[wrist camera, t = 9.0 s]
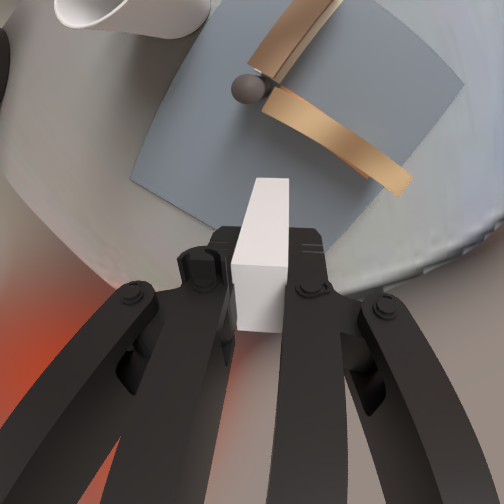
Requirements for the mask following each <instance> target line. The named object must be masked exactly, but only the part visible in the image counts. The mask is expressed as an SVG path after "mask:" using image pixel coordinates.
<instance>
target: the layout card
mask: <svg viewBox="0 0 504 504" xmlns="http://www.w3.org/2000/svg"><path fill="white" fill-rule="evenodd" d="M292 1H293V0H223V1H222V2H221V3H220V5H219V6H218V7H217V9H216V10H215V12H214V13H213V15H212V16H211V18H210V19H209V21H208V22H207V24H206V25H205V27H204V28H203V30H202V31H201V33H200V34H199V36H198V37H197V39H196V41H195V42H194V44H193V46H192V47H191V49H190V51H189V52H188V54H187V56H186V57H185V59H184V61H183V63H182V64H181V66H180V68H179V70H178V72H177V73H176V75H175V77H174V79H173V81H172V83H171V85H170V87H169V89H168V91H167V93H166V95H165V97H164V99H163V101H162V103H161V105H160V107H159V109H158V111H157V113H156V115H155V117H154V120H153V122H152V124H151V126H150V129H149V131H148V133H147V135H146V138H145V140H144V142H143V145H142V147H141V150H140V152H139V155H138V157H137V160H136V162H135V165H134V168H133V170H132V173H131V176H130V178H129V179H130V180H132V181H134V182H136V183H137V184H139V185H141V186H142V187H144V188H146V189H148V190H149V191H151V192H153V193H154V194H156V195H158V196H160V197H161V198H163V199H165V200H166V201H168V202H170V203H171V204H173V205H175V206H177V207H178V208H180V209H182V210H183V211H185V212H187V213H189V214H190V215H192V216H194V217H195V218H197V219H199V220H201V221H202V222H204V223H206V224H207V225H209V226H211V227H212V228H214V229H216V230H217V229H219V228H220V227H221V226H242V224H243V221H244V217H245V214H246V211H247V207H248V204H249V201H250V197H251V194H252V191H253V188H254V184H255V181H256V178H289V227H297V228H315V229H316V230H317V231H318V233H319V234H320V235H321V237H322V243H323V249H324V253H325V252H326V251H327V250H328V249H329V248H330V247H331V246H332V245H333V244H334V242H335V241H336V240H337V239H338V238H339V237H340V236H341V235H342V234H343V233H344V232H345V230H346V229H347V228H348V227H349V226H350V225H351V224H352V223H353V222H354V221H355V219H356V218H357V217H358V216H359V215H360V214H361V213H362V212H363V210H364V209H365V208H366V207H367V206H368V205H369V204H370V203H371V201H372V200H373V199H374V198H375V197H376V196H377V194H378V193H379V192H380V191H381V190H382V189H383V188H384V186H383V185H382V184H380V183H379V182H377V181H376V180H375V179H373V178H372V177H370V176H369V175H368V174H366V173H365V172H363V171H362V170H360V169H359V168H357V167H356V166H354V165H353V164H351V163H350V162H348V161H347V160H345V159H344V158H342V157H341V156H339V155H337V154H336V153H334V152H333V151H331V150H329V149H328V148H326V147H325V146H323V145H321V144H320V143H318V142H316V141H315V140H313V139H311V138H310V137H308V136H306V135H304V134H303V133H301V132H299V131H297V130H296V129H294V128H292V127H290V126H288V125H286V124H285V123H283V122H281V121H279V120H277V119H275V118H273V117H271V116H269V115H268V114H266V113H264V112H262V109H263V107H264V105H265V103H266V102H267V100H268V98H269V96H270V95H271V93H272V91H273V89H274V88H275V87H277V88H279V89H281V90H283V91H285V92H287V93H289V94H291V95H292V96H294V97H296V98H298V99H300V100H302V101H303V102H305V103H307V104H309V105H310V106H312V107H314V108H316V109H317V110H319V111H321V112H322V113H324V114H326V115H327V116H329V117H331V118H332V119H334V120H335V121H337V122H339V123H340V124H342V125H343V126H345V127H346V128H348V129H349V130H351V131H352V132H354V133H355V134H357V135H358V136H360V137H361V138H363V139H364V140H366V141H367V142H368V143H370V144H371V145H373V146H374V147H375V148H377V149H378V150H379V151H381V152H382V153H384V154H385V155H386V156H387V157H389V158H390V159H391V160H393V161H394V162H395V163H397V164H398V165H399V166H400V167H401V166H402V165H403V164H404V163H405V161H406V160H407V159H408V158H409V156H410V155H411V154H412V153H413V152H414V150H415V149H416V148H417V147H418V145H419V144H420V143H421V142H422V140H423V139H424V138H425V137H426V135H427V134H428V133H429V131H430V130H431V129H432V128H433V126H434V125H435V124H436V122H437V121H438V120H439V118H440V117H441V116H442V115H443V113H444V112H445V111H446V109H447V108H448V107H449V105H450V104H451V103H452V101H453V100H454V98H455V97H456V96H457V94H458V93H459V92H460V90H461V89H462V87H463V86H464V85H465V84H464V83H463V82H462V81H461V79H460V78H459V77H458V76H457V75H456V74H455V73H454V71H453V70H452V69H451V68H450V67H449V66H448V65H447V64H446V63H445V62H444V61H443V60H442V58H441V57H440V56H439V55H438V54H437V53H436V52H435V51H434V50H433V49H432V48H431V47H430V46H428V45H427V44H426V43H425V42H424V41H423V40H422V39H421V38H420V37H419V36H418V35H417V34H415V33H414V32H413V31H412V30H411V29H410V28H409V27H407V26H406V25H405V24H404V23H403V22H401V21H400V20H399V19H398V18H396V17H395V16H394V15H393V14H391V13H390V12H389V11H387V10H386V9H385V8H383V7H382V6H381V5H379V4H378V3H377V2H375V1H374V0H334V1H333V2H332V3H331V4H330V6H329V7H328V8H327V9H326V10H325V12H324V13H323V14H322V15H321V17H320V18H319V19H318V20H317V22H316V23H315V24H314V25H313V27H312V28H311V29H310V31H309V32H308V33H307V34H306V36H305V37H304V38H303V40H302V41H301V42H300V44H299V45H298V46H297V48H296V49H295V50H294V52H293V53H292V54H291V56H290V57H289V59H288V60H287V61H286V63H285V64H284V65H283V67H282V68H281V70H280V71H279V72H278V74H277V75H276V77H275V78H271V77H269V76H268V75H266V74H264V73H262V72H261V71H259V70H257V69H255V68H253V67H252V66H250V65H248V64H247V62H248V61H249V60H250V58H251V57H252V55H253V54H254V52H255V51H256V49H257V48H258V46H259V45H260V44H261V42H262V41H263V39H264V38H265V37H266V35H267V34H268V33H269V31H270V30H271V28H272V27H273V26H274V24H275V23H276V22H277V20H278V19H279V18H280V17H281V15H282V14H283V13H284V11H285V10H286V9H287V8H288V6H289V5H290V4H291V3H292ZM243 74H252V75H256V76H260V77H264V78H266V79H267V80H268V81H269V82H270V84H271V92H270V94H269V95H268V96H267V97H266V98H264V99H262V100H259V101H257V102H255V103H253V104H242V103H240V102H238V101H237V100H235V99H234V97H233V95H232V93H231V85H232V83H233V81H234V80H235V79H236V78H237V77H238V76H240V75H243Z"/></svg>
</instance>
